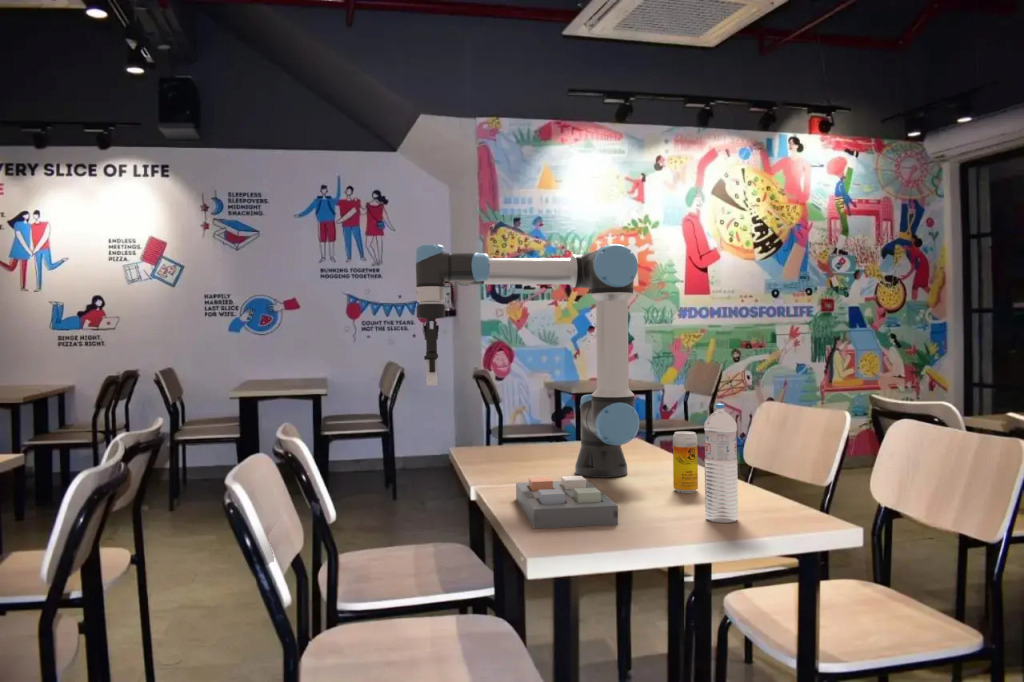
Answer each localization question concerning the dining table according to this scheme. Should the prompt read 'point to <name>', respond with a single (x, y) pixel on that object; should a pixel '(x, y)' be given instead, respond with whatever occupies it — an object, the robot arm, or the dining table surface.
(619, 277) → the robot arm
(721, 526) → the dining table surface
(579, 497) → the sage key
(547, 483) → the terracotta key
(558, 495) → the slate key
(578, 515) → the keypad
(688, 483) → the beer can
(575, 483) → the cream key
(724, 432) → the water bottle
